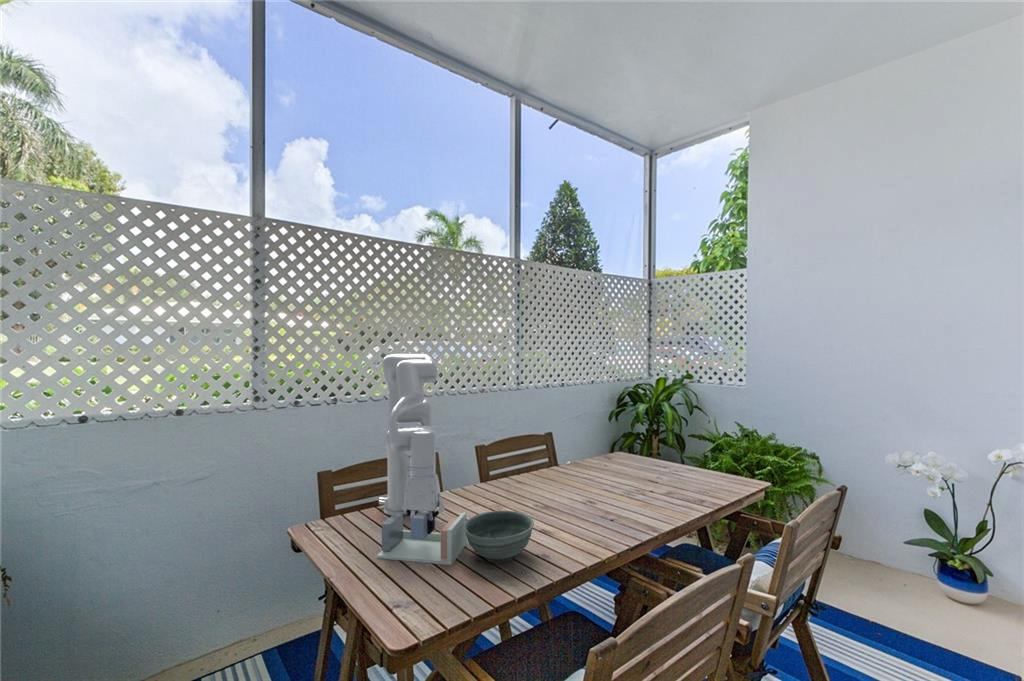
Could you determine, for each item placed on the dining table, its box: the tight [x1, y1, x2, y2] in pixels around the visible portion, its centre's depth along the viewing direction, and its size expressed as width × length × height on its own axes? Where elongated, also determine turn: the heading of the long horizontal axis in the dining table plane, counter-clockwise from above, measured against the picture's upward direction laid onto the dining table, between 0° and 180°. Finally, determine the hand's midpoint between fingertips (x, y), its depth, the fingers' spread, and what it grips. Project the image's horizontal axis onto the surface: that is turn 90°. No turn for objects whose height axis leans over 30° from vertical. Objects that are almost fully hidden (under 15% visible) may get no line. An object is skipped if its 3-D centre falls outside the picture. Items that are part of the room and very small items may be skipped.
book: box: [410, 511, 436, 540], centre depth 134 cm, size 4×9×6 cm, turn 168°
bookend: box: [381, 513, 404, 551], centre depth 136 cm, size 2×9×8 cm, turn 168°
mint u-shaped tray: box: [376, 511, 467, 566], centre depth 134 cm, size 23×14×10 cm, turn 78°
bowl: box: [464, 510, 535, 564], centre depth 130 cm, size 21×21×10 cm
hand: (423, 531), depth 134 cm, fingers closed on book, 4 cm apart
